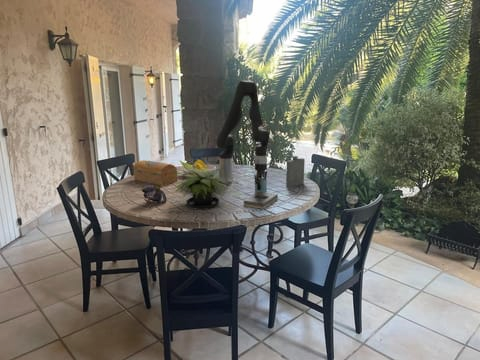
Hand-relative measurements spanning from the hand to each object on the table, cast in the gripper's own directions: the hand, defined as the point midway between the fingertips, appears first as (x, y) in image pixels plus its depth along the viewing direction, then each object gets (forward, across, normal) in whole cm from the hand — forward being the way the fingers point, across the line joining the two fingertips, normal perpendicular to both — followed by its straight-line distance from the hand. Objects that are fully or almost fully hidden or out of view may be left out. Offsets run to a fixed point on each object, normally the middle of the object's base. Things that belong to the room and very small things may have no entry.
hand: (260, 188), depth 220 cm
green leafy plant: (+3, +8, -44) cm, 45 cm away
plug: (+2, 0, 0) cm, 2 cm away
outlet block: (+2, +18, +9) cm, 20 cm away
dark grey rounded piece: (+3, +47, -46) cm, 66 cm away
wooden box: (+3, +7, -81) cm, 82 cm away
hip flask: (+3, -26, +13) cm, 29 cm away
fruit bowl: (+3, -21, -64) cm, 67 cm away
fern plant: (+3, +36, -19) cm, 41 cm away
